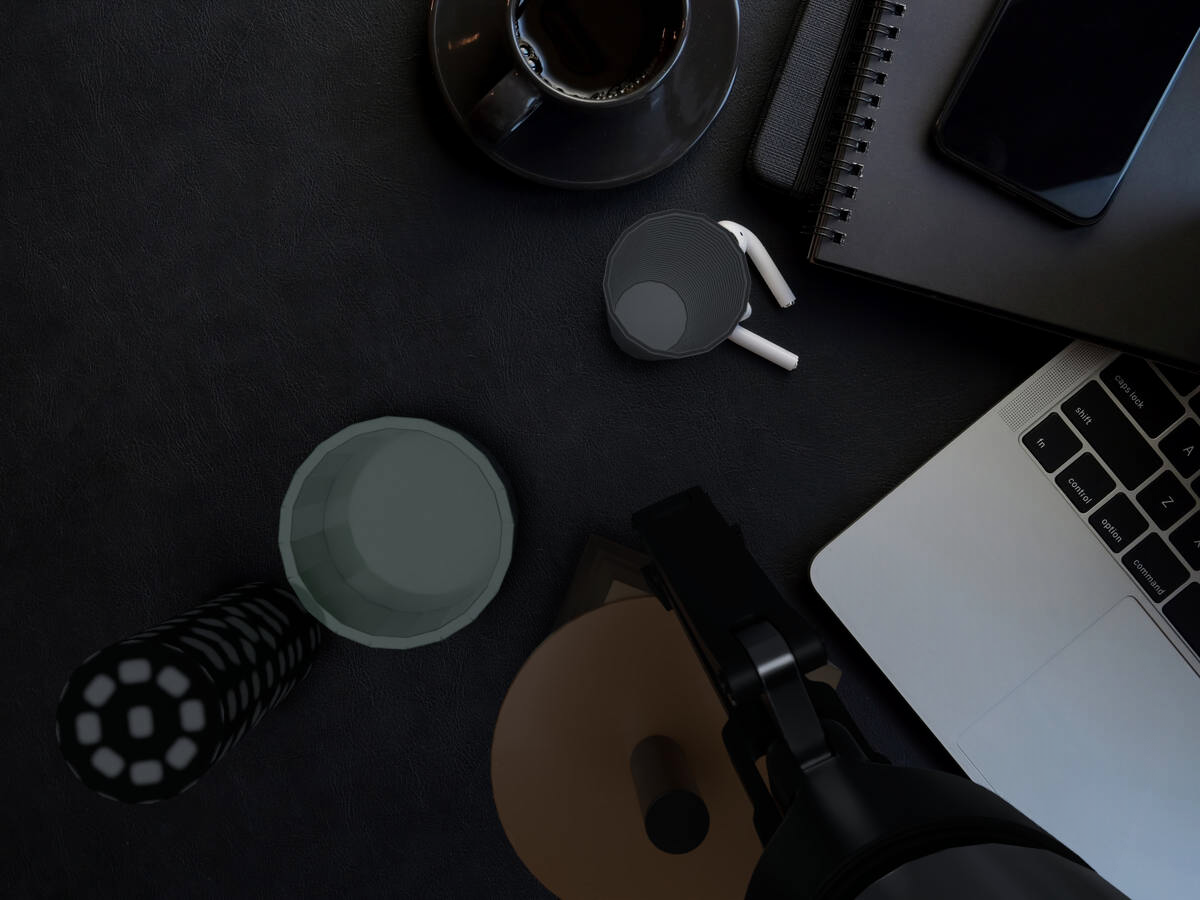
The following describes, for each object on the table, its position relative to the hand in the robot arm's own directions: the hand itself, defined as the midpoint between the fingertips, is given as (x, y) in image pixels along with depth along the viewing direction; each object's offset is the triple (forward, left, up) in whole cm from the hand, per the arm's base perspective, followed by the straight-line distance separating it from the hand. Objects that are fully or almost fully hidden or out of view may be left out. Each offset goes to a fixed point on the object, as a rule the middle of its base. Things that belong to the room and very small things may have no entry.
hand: (738, 713), depth 39 cm
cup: (+19, +8, -30) cm, 36 cm away
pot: (-1, +18, -30) cm, 35 cm away
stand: (-3, 0, -30) cm, 30 cm away
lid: (-5, +1, -6) cm, 8 cm away
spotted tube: (-13, +25, -30) cm, 42 cm away
